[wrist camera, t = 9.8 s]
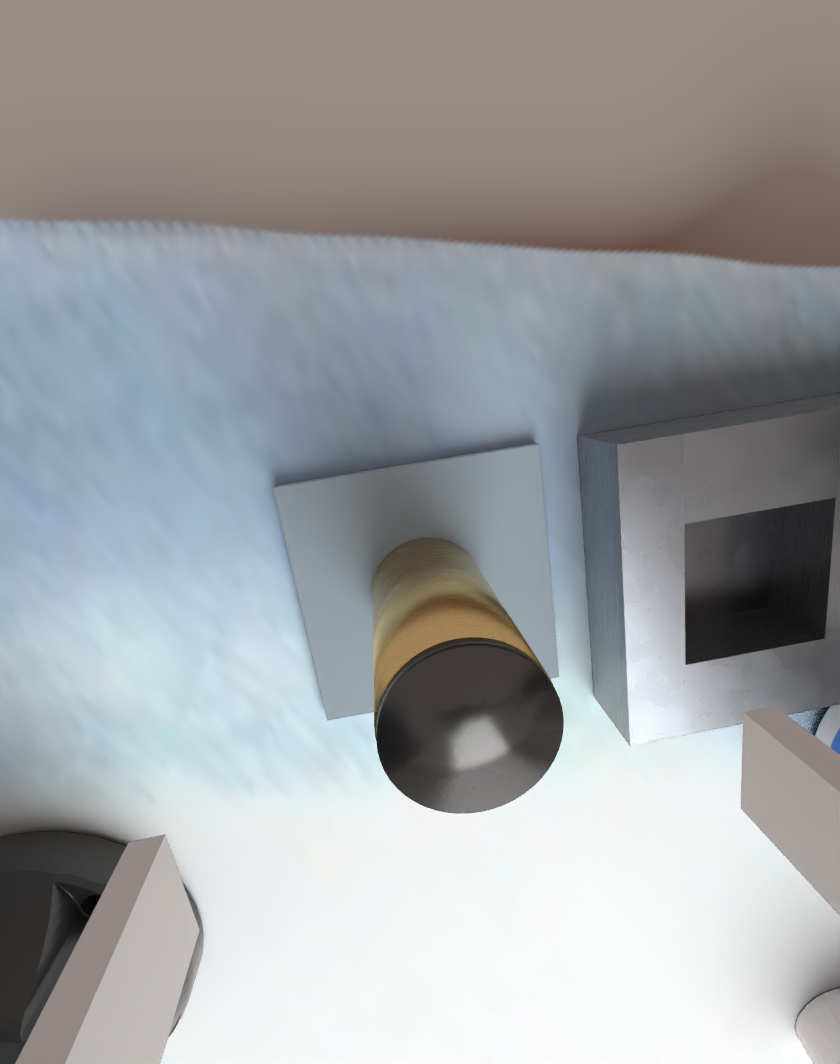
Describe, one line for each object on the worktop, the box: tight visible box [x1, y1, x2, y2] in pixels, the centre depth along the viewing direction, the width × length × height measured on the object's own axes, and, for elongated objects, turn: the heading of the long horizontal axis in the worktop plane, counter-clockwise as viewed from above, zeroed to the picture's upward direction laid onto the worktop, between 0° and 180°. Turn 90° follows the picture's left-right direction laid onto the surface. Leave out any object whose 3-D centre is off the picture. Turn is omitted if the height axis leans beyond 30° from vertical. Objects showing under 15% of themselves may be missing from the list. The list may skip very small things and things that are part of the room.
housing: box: [577, 393, 840, 746], centre depth 24 cm, size 20×14×4 cm
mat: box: [273, 443, 559, 720], centre depth 25 cm, size 12×12×1 cm
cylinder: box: [372, 537, 563, 813], centre depth 19 cm, size 5×5×11 cm
